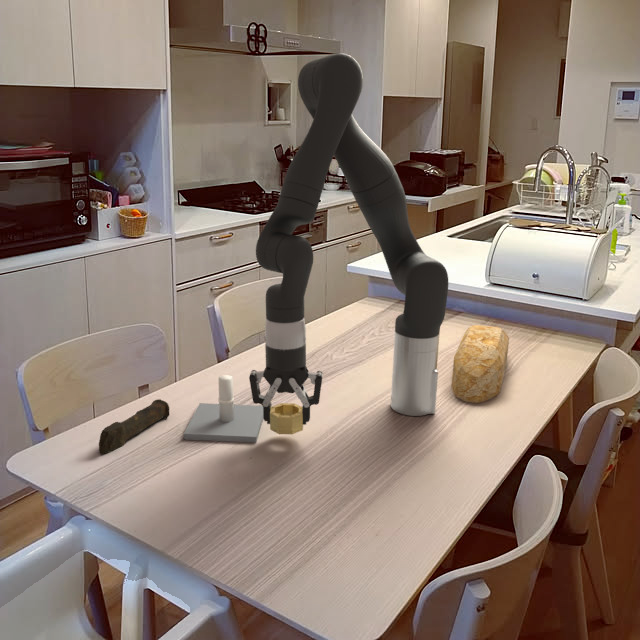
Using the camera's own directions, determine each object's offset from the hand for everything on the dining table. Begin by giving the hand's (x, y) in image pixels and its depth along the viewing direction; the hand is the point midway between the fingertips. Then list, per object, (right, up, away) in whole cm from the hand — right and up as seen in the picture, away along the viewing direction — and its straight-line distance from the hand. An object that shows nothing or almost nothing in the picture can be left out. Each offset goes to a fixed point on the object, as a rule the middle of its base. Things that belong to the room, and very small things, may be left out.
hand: (286, 422), depth 136 cm
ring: (0, -1, 0) cm, 1 cm away
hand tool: (-29, -3, +2) cm, 30 cm away
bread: (+45, +6, +36) cm, 58 cm away
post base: (-12, -1, +7) cm, 14 cm away
